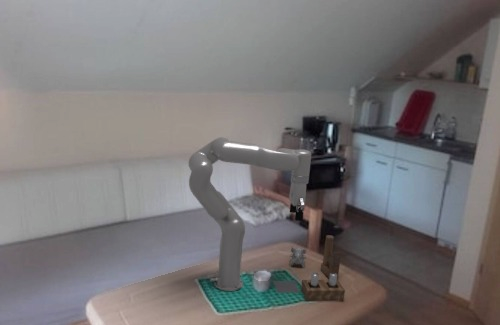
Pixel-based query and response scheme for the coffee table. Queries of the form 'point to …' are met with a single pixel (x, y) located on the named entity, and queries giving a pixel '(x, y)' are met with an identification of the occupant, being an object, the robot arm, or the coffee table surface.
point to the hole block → (322, 291)
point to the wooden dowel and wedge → (330, 258)
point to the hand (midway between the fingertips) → (295, 216)
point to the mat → (286, 287)
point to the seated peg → (332, 280)
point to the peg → (314, 280)
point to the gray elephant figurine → (297, 256)
